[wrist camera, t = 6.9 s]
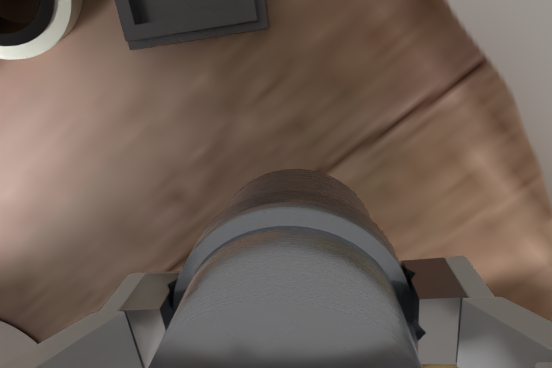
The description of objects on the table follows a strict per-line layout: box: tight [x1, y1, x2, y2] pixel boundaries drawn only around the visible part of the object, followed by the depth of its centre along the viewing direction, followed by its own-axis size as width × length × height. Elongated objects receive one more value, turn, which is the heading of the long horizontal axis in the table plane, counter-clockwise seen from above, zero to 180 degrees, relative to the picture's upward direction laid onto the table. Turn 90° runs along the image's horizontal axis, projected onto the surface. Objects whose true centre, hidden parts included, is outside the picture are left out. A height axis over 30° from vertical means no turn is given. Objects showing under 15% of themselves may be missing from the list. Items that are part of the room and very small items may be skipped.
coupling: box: [148, 169, 422, 368], centre depth 9 cm, size 6×6×6 cm
